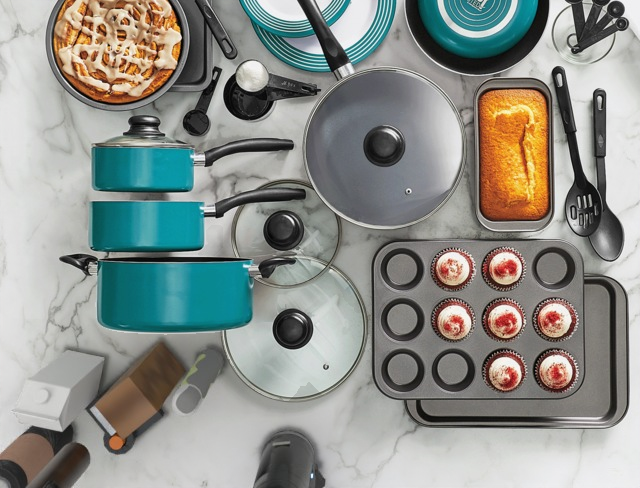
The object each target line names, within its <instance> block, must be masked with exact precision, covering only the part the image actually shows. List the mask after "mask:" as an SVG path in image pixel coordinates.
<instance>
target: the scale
mask: <svg viewBox="0 0 640 488" xmlns="http://www.w3.org/2000/svg"><path fill="white" fill-rule="evenodd" d="M117 381H118V380H116V381H115V382H114V383H113V384H111V385H110V386H109V387H108V388H106V389H105V390H104V391H103V392H102V393H100V394H99V395H97V397H96V398H95V399H94V400H93V401H92V402H91V403H90V404H89V405H88V406H87V407H86V408H85V409H84V410H85V411H86V412H87V413H88V414H89V416H90V417H91V418H92V419H93V420H94V422H95V423H96V424H97V425H98V427H99V428H100V429H101V430H102V431H103V433H104V434H103V437H102V441H103V446H104V448H105V449H106V450H107V451H108V452H109V453H110V454H113V455H115V456H118V455H125V454H127V453H128V452H129V451H130V450H131V449H132V448H133V447H134V445H135V443H136V440H137V438H139V437H140V436H141V435H142V434H143V433H145V432H146V431H147V430H148V429H149V428H151V427H152V426H153V425H154V424H156V423H157V422H158V421H160V420H161V418H163V417H164V415H165V412H164V411H163V409H162V408H160V409H159V410H158V412H157V413H156V414H154V415H153V416H152V417H151V418H149V419H148V420H147V421H146V422H144V423H143V424H142V425H141V426H140V427H138V428H137V429H136V430H135V431H133V432H132V433H131V434H130V435H129V436H127V437H126V440H125V443H124V444H123V446H122V447H121V448H120V449H117V450H115V449H112V448H111V447H110V445H109V441H110V439H111V437H112V436H113V435H114V434H113V435H112V436H111V435H110V434H109V433H108V431H107V430H106V429H105V428H104V426H103V425H102V424H101V423H100V422H99V420H98V419H97V418H96V417H95V416H94V414H93V413H92V412H91V411H90V408H91V407H93V406H94V405H95V404H96V403H97V401H98V400H99V399H100V398H101V397H102V396H103V395H104V394H105V393H106V392H107V391H108V390H109V389H110V388H111V387H112V386H113V385H114V384H115V383H116V382H117ZM116 433H117V432H116Z"/></svg>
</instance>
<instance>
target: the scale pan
mask: <svg viewBox="0 0 640 488" xmlns="http://www.w3.org/2000/svg"><path fill="white" fill-rule="evenodd" d="M90 411H91V412H92V413H93V414H94V416H95V417H96V418H97V419H98V420H99V422H100V423H101V424H102V425H103V426H104V428H105V429H106V430H107V431H108V433H109V434H110V435H111V436H112V435H113V434H115V433H116V431H115V430H114V429H113V427H112V426H111V425H110V424H109V423H108V421H107V420H106V419H105V418H104V417H103V415H102V414H101V413H100V412H99V410H98V409H97V408H96V407H95V406H93V407H91V408H90Z"/></svg>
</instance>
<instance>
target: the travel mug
mask: <svg viewBox="0 0 640 488" xmlns="http://www.w3.org/2000/svg"><path fill="white" fill-rule="evenodd" d="M73 438H74V428H73V426H72V424H71V423H70V424H69V425H68V426H67V427H66V428H65V430H64V431H63V432H61V431H56V430H51V429H46V428H42V427H37V426H32V425H30V427H28V428H27V429H26V430H25V431H23V432H22V434H20V435H19V436H18V437H17V438H15V439H14V440H13V441H12V442H11V443H10V444H9V445H8V446H7V447H6V448H4V450H2V451H1V452H0V488H25V487H26V486H27V485H28V484H29V483H30V482H31V481H32V480H33V479H34V478H35V477H36V475H37V474H38V473H39V472H40V471H41V470H42V469H43V468H44V467H45V466H46V465H47V464H48V463H49V462H50V460H51V459H52V458H53V457H54V456H55V455H56V454H57V453H58V452H59V451H60V450H61V449H62V448H63V447H64V446H65V445H66V444H68V443H72V441H73Z"/></svg>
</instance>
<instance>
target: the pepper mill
mask: <svg viewBox="0 0 640 488" xmlns="http://www.w3.org/2000/svg"><path fill="white" fill-rule="evenodd" d="M90 463H91V452H90V451H89V449H88V447H86V446H85V445H84V444H83V443H80V442H77V441H76V442H74V441H73V442H72V441H71V443H68V444H66V445H65V446H64V447H63V448H62V449H61V450H60V451H59V452H58V453H57V454H56V455H55V456H54V457H53V458H52V459H51V460H50V462H49V463H48V464H47V465H46V466H45V467H44V468H43V469H42V470H41V471H40V472H39V473H38V474H37V475H36V477H35V478H34V479H33V480H32V481H31V482H30V483H29V484H28V485H27V486H26V487H25V488H43V486H44V485H45V484H46V483H47V482H49V481H50V480H54V481H56V483H57V484H58V485H59V486H60V487H61V488H73V487H74V485H75V484H76V483H77V482H78V480H79V479H80V478H81V477H82V476H83V474H84V473H85V472H86V470H87V469H88V468H89V466H90Z"/></svg>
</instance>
